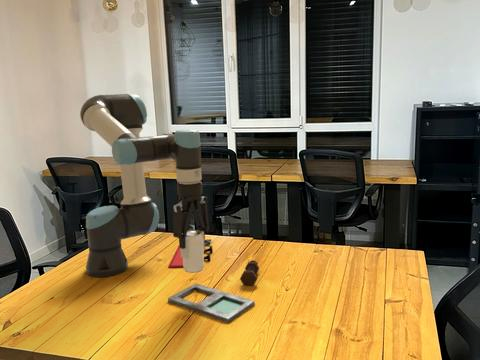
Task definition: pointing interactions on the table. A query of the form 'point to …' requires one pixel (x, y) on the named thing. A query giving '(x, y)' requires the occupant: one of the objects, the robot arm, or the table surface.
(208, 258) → the red board with handle
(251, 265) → the bolt
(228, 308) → the pad
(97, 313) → the table surface
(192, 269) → the can
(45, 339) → the table surface
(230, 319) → the grey flat frame
